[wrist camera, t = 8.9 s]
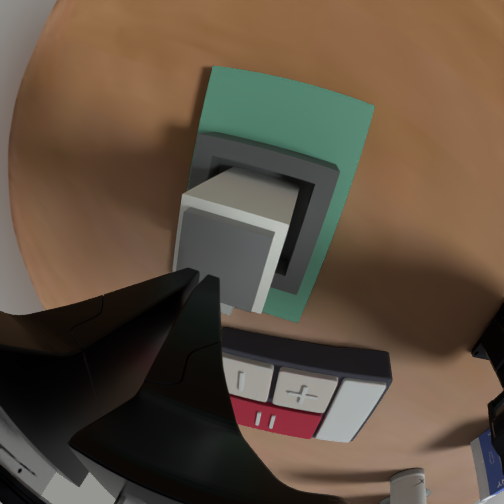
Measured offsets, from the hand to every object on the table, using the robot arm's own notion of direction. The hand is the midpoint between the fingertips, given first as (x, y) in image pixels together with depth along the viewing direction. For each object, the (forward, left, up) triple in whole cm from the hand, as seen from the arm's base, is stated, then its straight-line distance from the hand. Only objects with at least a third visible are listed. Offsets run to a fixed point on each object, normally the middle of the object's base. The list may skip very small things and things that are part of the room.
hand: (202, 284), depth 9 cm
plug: (0, 0, -9) cm, 9 cm away
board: (0, 0, -11) cm, 11 cm away
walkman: (-43, +21, -11) cm, 49 cm away
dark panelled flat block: (-8, +16, -12) cm, 21 cm away
